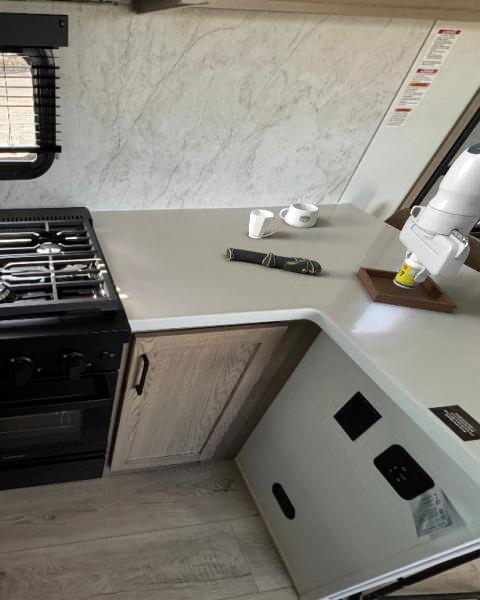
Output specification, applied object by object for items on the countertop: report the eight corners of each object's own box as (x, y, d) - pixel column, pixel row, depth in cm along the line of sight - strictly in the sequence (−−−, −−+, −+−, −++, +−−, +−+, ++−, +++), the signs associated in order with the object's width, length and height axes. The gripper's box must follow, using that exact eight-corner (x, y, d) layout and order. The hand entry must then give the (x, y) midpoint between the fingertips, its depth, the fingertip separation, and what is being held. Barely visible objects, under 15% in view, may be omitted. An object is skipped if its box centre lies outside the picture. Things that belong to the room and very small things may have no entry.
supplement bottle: (392, 277, 89) (410, 248, 84) (415, 283, 87) (435, 253, 82) (392, 285, 86) (411, 256, 81) (416, 291, 84) (437, 261, 79)
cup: (242, 231, 119) (248, 208, 114) (272, 233, 118) (280, 210, 113) (246, 240, 113) (253, 216, 109) (278, 242, 112) (287, 218, 107)
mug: (310, 219, 127) (316, 203, 123) (317, 229, 119) (324, 213, 116) (274, 215, 129) (280, 200, 126) (279, 226, 122) (285, 209, 118)
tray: (424, 284, 91) (429, 276, 90) (450, 314, 81) (456, 305, 80) (356, 274, 96) (360, 267, 94) (372, 302, 85) (377, 294, 84)
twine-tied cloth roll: (225, 251, 100) (324, 269, 91) (228, 240, 103) (325, 257, 94) (223, 262, 103) (318, 281, 94) (226, 251, 106) (319, 268, 97)
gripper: (492, 243, 68) (448, 299, 76) (441, 206, 84) (409, 256, 92) (452, 239, 70) (414, 294, 78) (410, 204, 85) (382, 253, 93)
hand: (411, 273), depth 85 cm, fingers closed on supplement bottle, 5 cm apart
